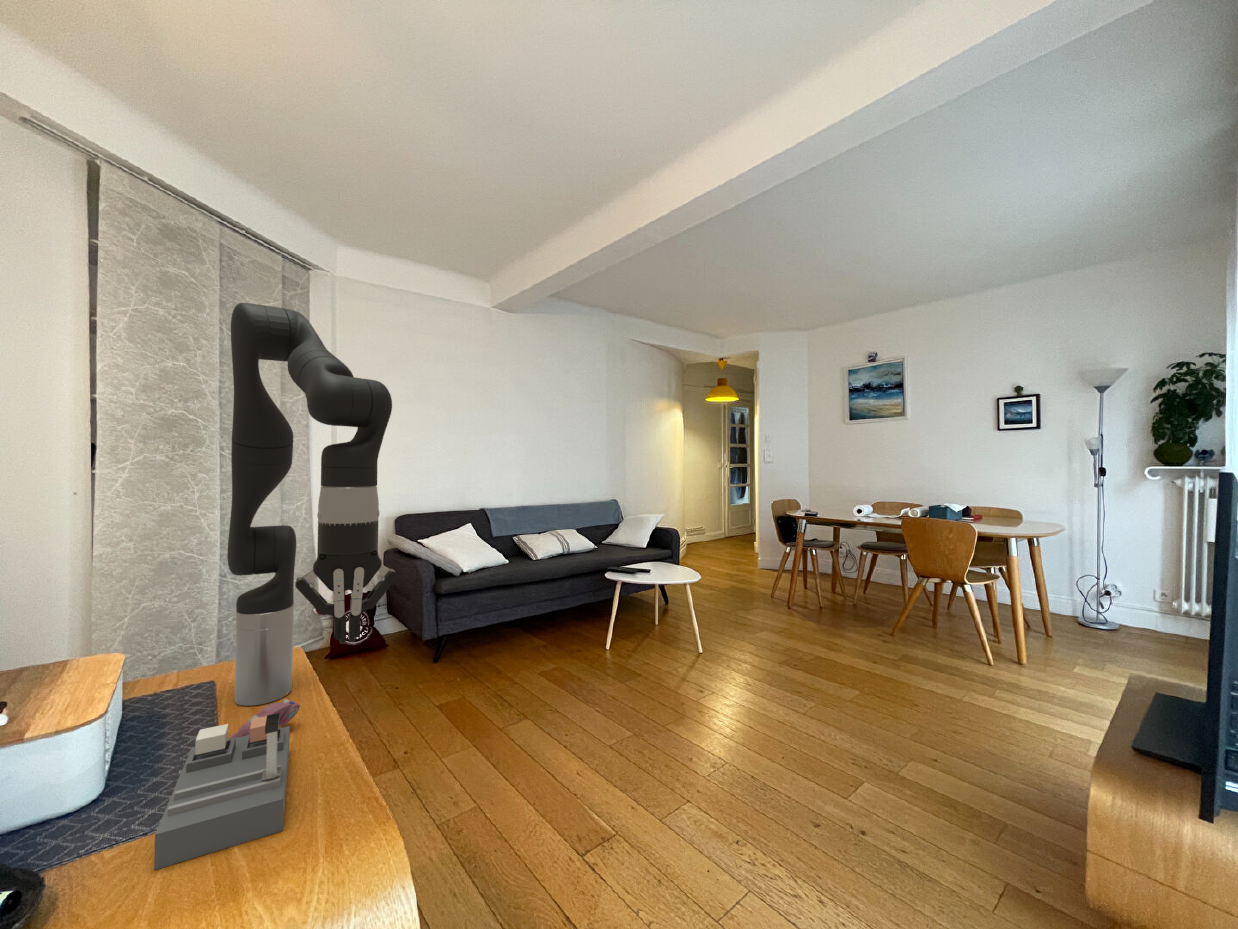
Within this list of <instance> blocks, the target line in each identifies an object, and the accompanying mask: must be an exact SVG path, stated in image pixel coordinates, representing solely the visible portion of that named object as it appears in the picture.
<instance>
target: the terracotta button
mask: <svg viewBox="0 0 1238 929" xmlns="http://www.w3.org/2000/svg"><path fill="white" fill-rule="evenodd" d="M266 719H267V716H265V717H260V718H255V719H252V722H251V726H250V743H251V742H256V741H260V740H265V739H267V734H265V724H266Z"/></svg>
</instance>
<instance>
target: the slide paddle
mask: <svg viewBox="0 0 1238 929" xmlns="http://www.w3.org/2000/svg"><path fill="white" fill-rule="evenodd" d="M279 721H280V713H277V714H272V715H267V719H266V724H265V734H267V759H266V770H264V771H263V774H262V782H265V781H269V780H273V779H277V778H280V779H281V766H280V767H277V735H278V728H279Z"/></svg>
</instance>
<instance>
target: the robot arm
mask: <svg viewBox="0 0 1238 929" xmlns="http://www.w3.org/2000/svg"><path fill="white" fill-rule="evenodd" d="M230 345H231V346H230V347H231V363H232V377H233V378H232V379H233V408H232V410H233V411H232V413H233V414H232V429H231V430H232V431H231V457H230V458H231V506H230V508H231V509H230V510H231V511H230V517H229V520H230V521H229V529H228V531H229V532H228V538H227V540H228V541H227V554H226V555H227V566H228V569H229V571H230V573H231V574H232V575H234V576H240V577H241V576H251V575H265V574H273V573H274V575H273V577H272V578H271V579H270V580H267V582H266V583H264V584H262V585H260V586H258V587H256V588H253V589H250V590H248V591H245V592H244V593H241V594H240V595H239V596H238V597H237V599H236V605H235V606H236V608H235V609H236V610H235V614H236V615H235V617H236V618H235V619H236V620H235V660H234V661H235V663H234V664H235V667H234V668H235V669H234V671H235V672H234V703H235V704H237V705H238V706H239V705H240V706H243V707H244V706H248V707H249V706H251V707H252V706H259V705H264V704H270V703H272V702H275V701H278V700H280V699H283V698H285V697H286V696H287V695H286V694H287V693H289V692H290V691H291V689H292V690H293V670H294V669H293V666H294V665H293V662H294V661H293V659H294V658H293V656H294V602H295V601H294V599H295V598H294V588H296V589H297V590H298V591H299V592H300V594H301V595H302V596H303V597H304V598H305V599H306V600H307V601H308V602H309V603H310V604H311V605H312V607H314V609H316V611H317V612H318V613H319V614H320V615H322V616H326V615H328V616H332V617H333V618H334V622H333V624H334V626H333V627H334V630H333V632H334V633H333V635H334V636H333V637H334V639H335V640H336V641H339V644H340V645H342V644H346V643H347V640H348V643H355V642H356V638H360V635H361V626H362V624H361V622H362V621H361V619H362V618H361V617H362V614H363V613H364V612H366V611H368V610H372V609H374V608H375V607H376V605H377V604H378V603H379V602H380V600H381V599H382V598H383V596H384V595H385V593H386V592H387V591H388V589H389V588H390V587H391V586H392V584H393V583H394V581H395V580H396V579H397V578H398V574H397V572H396V571H395V570H394V568H389V567H387V566H386V565H383V564H382V563H383V562H382V559H381V557H380V555H379V517H380V510H379V509H380V507H379V506H380V503H379V495H378V494H379V493H378V462H379V461H378V460H379V455H380V451H381V446H382V444H383V440H384V436H385V433H386V431H387V430H386V429H387V427H388V424H389V421H390V419H391V415H392V410H393V399H392V394H391V393H390V391H389V389H388V388H387V386H386V385H385V384H384V383H382V382H381V381H378V380H375V379H370V378H362V377H355V376H354V375H353V372H352V371H351V369H350V368H349V367H348V366H347V365H346V364H345V363H344V362H343V361H341V359H339V358H338V357H336V356H335V355H334V354H333V353H332V352H330V351H329V350H328V348H326V346H325V344H324V342H323V341H322V339H321V338H320V336H319V334H318V333H317V331H316V330H315V328H314V327H313V326H312V323H311V322H310V321H309V320H308V319H307V317H306V316H304V315H303V314H302V313H300V312H298V311H296V310H294V309H289V308H284V307H276V306H271V305H264V304H258V303H257V304H256V303H250V302H239V303H237V304H236V305H235V306H234V307H233V310H232V313H231V317H230ZM260 360H263V361H264V360H265V361H274V362H275V361H276V362H286V363H287V372H288V374H289V376H290V378H291V380H292V381H293V383H294V384H296V386H297V387H298V388H299V389H300V390H301V391H302V392H303V393H304V395H305V398H306V407H307V410H308V413H309V415H310V417H311V418H313V419H314V420H315V421H317V422H319V423H321V424H323V425H326V426H333V427H336V426H337V427H350V428H357V430H356V432H355V434H354V436H353V438H352V439H351V440H349V441H346V442H345V441H344V442H339V443H338V442H337V443H334V444H333V443H332V444H329V445H327V446H325V447H323V450H322V451H321V459H320V491H319V498H318V505H317V506H318V508H317V509H318V510H317V550H316V551H317V557H316V559H315V561H314V563H313V565H312V569H311V570H310V571H308V573H306V574H304V575H303V576H298V577H297V578H296V580H295V578H294V577H295V564H296V556H297V554H296V553H297V535H296V532H295V530H294V528H293V527H292V526H290V525H267V526H264V525H263V526H252V522H253V520H254V518H255V516H256V514H257V512H258V511H259V509H260V507H261V506H262V504H263V503H264V502H265V500H266V499H267V498H268V497H269V496H270V495H271V494H272V492H273V491H274V490H275V489H276V488H277V487H278V486H279V484H280V483H282V481H283V479H284V478H286V476H287V475H288V473H289V472H290V469H291V468H292V464H293V453H294V432H293V428H292V426H291V425H290V423H289V421H288V420H287V418H286V417H285V415H284V414H283V413H282V411H281V410H280V408H279V407H278V406H277V404H276V403H275V402H274V400H273V399H272V398H271V396H270V394H269V393H268V391H267V389H266V387H265V385H264V383H263V381H262V377H261V373H260V366H259V363H260V362H259V361H260ZM377 573H378V575H377ZM375 575H377V576H376V577H377V580H378V581H377V583H376V584H375V585H374V587H373V588H372V590H371V591H370V592H369V594H368V595H367V596H366V597H365V598H364V599H363V594H364V592H363V591H364V588H366V587H367V586H368V585H369V583H370V582H371V580H372V579H373V578H374V577H375ZM316 578H318V579H319V580H320V581H321V582H322V583H323V585H324V586H325V587H326V588H327V589H328V590H330V591H331V592H333V593H332V596H333V603H330V602H328V601H327V599H325V597H323V596H322V594H321V593H320V592H319V591H318V590H317V589H316V587H317V585H318V584H317V580H316ZM294 583H295V587H294ZM346 591H350V605H349V606H350V607H349V608H350V611H349V612H348V632H347V614H346V611H345V592H346ZM347 633H348V639H347ZM291 692H292V691H291ZM291 692H290V693H291ZM290 693H289V694H290ZM285 695H286V696H285ZM284 696H285V697H284ZM282 697H283V698H282Z"/></svg>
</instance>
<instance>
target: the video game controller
mask: <svg viewBox="0 0 1238 929" xmlns="http://www.w3.org/2000/svg"><path fill="white" fill-rule="evenodd" d="M300 708H301V707H300V704H298V703H296V702H295V701H293V700H289V699H288V698H285V699H283V701H280V702H273V703H269V704H267V705H266V706H264V707H263V708H262V709H261V710H260V711H259V712H258V713H256V714H255V715H253V716H251V717H250V718H249V719H247V721H246V722H244V724H243V725H241V727H240V728H239V729H238V730H237V731H236V732H234V733H233V734H232V735H231V736H228V739H232V738H238V737H242V736H246V735H250V726H251V722H252V719H255V718H260V717H265V716H267V715H272V714H277V713H280V721H279V728H283V727H286V725H287V724H288V723H289V722H290V721H291V720H292V719H293V718H294V717H295V716H297V714H298V712H299V710H300Z"/></svg>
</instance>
